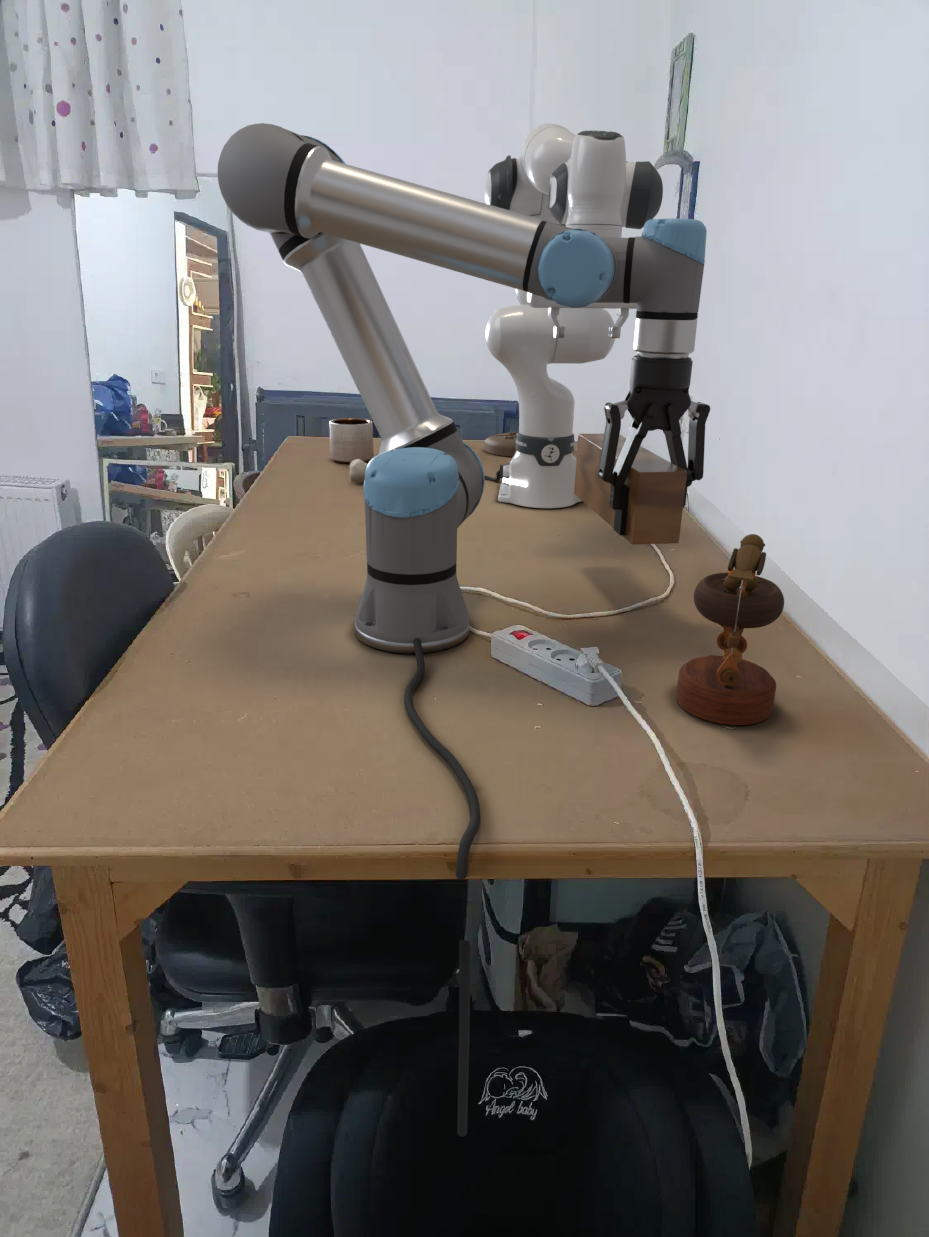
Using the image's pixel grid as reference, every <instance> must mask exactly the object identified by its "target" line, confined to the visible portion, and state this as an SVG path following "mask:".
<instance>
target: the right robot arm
mask: <svg viewBox="0 0 929 1237" xmlns="http://www.w3.org/2000/svg"><path fill="white" fill-rule="evenodd" d="M626 150H627V149H626V141H625V137H624V136H623V135H622V134H621V133H619V132H616V131H612V130H610V131H608V130H607V131H606V130H582V131H580V132H577V134H575V133H573V132H572V131H571V130H570V129H568V128H567V127H564V126H563V125H560V124H556V123H543V124H539V125H537V126H535V127H534V128H532V129H531V130H530V131H529V132H528V133H527V135H526V136H525V139H524V140H523V143H522V147H521V155H520V157H518V158H516V157H513V158H512V156H511V155H510V154H509V155H507V156H506V157H505V159H504V160H502V161H499V162H497V163H495V164H493V166H492V167H491V168H490V169H489V170H488V172H487V176H486V178H485V181H484V186H483V199H484V203H485V204H489V205H492V206H496V207H499V208H503V209H506V210H510V211H513V212H517V213H520V214H524V215H527V216H531V217H534V218H538V219H541V220H543V221H547V222H551V223H555V224H559V225H563V226H566V227H570V228H573V229H582V230H586V231H589V232H592V233H595V234H597V235H598V236H599V237H618V238H623V236H622V235H623V228H625V229H631V230H643V229H644V225H645V223H646V222H647V221H648V220H651V219H655V218H656V217H657V215H658V213H659V212H660V209H661V206H662V203H663V197H664V185H663V179H662V176H661V175H660V172H659V171H658V169H657V168H656V167H655V166H654V164H652V163H651V162H650V161H649V160H647V161H635V162H633V161H632V162H631V161H627V153H626V152H627V151H626ZM514 290H515V296H516V299H517V301H518V303H519V304H514V305H509V306H504V307H500V308H497V309H495V310H494V311H493V312H492V314H491V315H490V317H489V319H487V320H488V321H487V322H486V327H485V333H484V334H485V335H484V336H485V337H484V338H485V342H486V347H487V349H488V351H489V352H490V354H491V355H492V356H493V358H494V359H496V360H497V361H498V362H499V363H500V364H501V365H502V366H503V367H504V368H505V369H506V371H508V373H509V375H510V376H511V378H512V380H513V382H514V384H515V387H516V392H517V397H518V431H517V432H516V433H517V437H516V447H515V448H516V453H515V455H514V456H512V458H511V461H509V462H507V463H502V464H500V465H499V469H498V470H497V471H496V473H495V476H496V477H493V476H492V477H491V476H488V475H485V481H490V482H495V483H496V482H499V481H500V480H501V479H502V481H501V482H500V485H499V486H500V487H499V491H498V496H497V502H500V503H506V504H513V505H516V506H521V507H525V508H535V509H560V508H566V507H571V506H573V505H575V504H577V503H581V502H583V501H582V500H581V499H579V498H578V497H577V496H576V495H575V494H574V488H575V474H576V459H577V457H576V456H574V454H573V453H574V451H575V443H576V440H575V434H574V432H573V431H574V416H575V397H574V394H573V392H572V391H571V390H570V389H569V387H567V386H566V385H564V384H562V383H561V382H559V381H557V380H555V379H553V378H551V377H550V376H549V373H548V365H550V364H570V365H571V364H573V365H574V364H581V365H582V364H586V363H591V362H597V361H601V360H604V359H605V358H606V357H607V356H608V355H609V354H610V352H611V351H612V349H613V348H614V344H615V342H616V339H620V338H621V331H622V327H623V326H624V324H625V322H627V320H628V318H629V316H630V310H637V304H636V303H592V304H589V305H588V306H585V307H580V308H572V307H567V306H563V305H560V304H558V303H556V302H555V301H548V300H546V299H545V298H544V297H541V296H538V295H534V294H531V293H529V292H526V291H522V290H519V289H515V288H514ZM608 309H615V310H616V316H617V317H618V318H617V319H616V321H615V320H614V318H613V317H612V315H611V314H610V312H609V311H608Z"/></svg>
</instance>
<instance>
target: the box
mask: <svg viewBox="0 0 929 1237" xmlns="http://www.w3.org/2000/svg"><path fill="white" fill-rule="evenodd" d="M603 438H604V433H578V434H577V447H576V474H575V488H574V494H575V495H576V496H577V497H578V498H579V499H581V500H582V501H581V502H583V503H584V504H585V505H586V506H587V507H588V508H589V509H590V510H592V511H593V512H594V513H595V514H596V515H597V516H599V517H600V518H601V519H602V520H603V521H604V522H606V523H607V524H608V525H609V526H610V527H611V528H612V529H614V517H615V510H613V509H612V508H611V507H610V504H609V500H610V488H611V485H610V483H608V482H605V481H603V480H602V479H601V478H599V477H598V468H599V462H600V456H601V450H602V444H603ZM626 438H627V437H626V436H623V435H621V434H619V440H618V446H617V452H616V458H615V463H614V467H615V465H616V462H617V460H618V457H619V455H620V453H621V450H622V448H623V445H624V443H625V441H626ZM613 470H614V469H613ZM686 478H687V471H685V470H683V469H682V468H680V467H678V466H676V465H674V464H672V463H671V461H669V460H668V459H666V458H664V457H662V456H660V455H658V454H656V453H654V452H652V451H651V450H648V449H647V448H645V447H643V446H642V445H640V448H639V450H638V453H637V455H636V457H635V460H634V462H633V464H632V467H631V469H630V472H629V474H628V476H627V479H626V481H625V483H624V484H625V485H627V486H628V487H630V489H629V500H628V510H627V521H626V532H625V535H621V537H622V538H624V539H625V540H626V541H627V542H629V543H630V544H631V545H632V546H636V545H637V546H638V545H667V544H669V545H672V544H679V543H680V535H681V527H682V520H683V519H682V518H683V511H684V510H683V509H684V508H683V503H684V495H685V486H686Z"/></svg>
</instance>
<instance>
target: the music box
mask: <svg viewBox="0 0 929 1237" xmlns="http://www.w3.org/2000/svg"><path fill="white" fill-rule="evenodd" d="M741 539H742V540H740V541H739V543H740V544H739V545H740V547H739V548H737V547H735V548H733V550H732V552H731V556H730V559H729V562H728V565H727V571H728V572H717V573H716V572H715V573H712V574H708V575H707V576H705V577H703V578H702V579H701V580H700V581H699V582H698V583H697V584H696V586H695V588H694V592H693V603H694V606H695V608H696V610H697V611H698V613H699V614H700V615H701V616H702V617H703V618H705V619H706V620H708V621H710V622H712V623H715V624H717V625H719V626H720V627H722V628H723V630H722V631H721V632H719V633H718V635H717V637H716V645H717V647H718V649H720V650H722V651H723V653H722V655H702V656H698V657H694V658H693V659H690V660H689V661H687V662H685V663H684V664H682V666H680V668H679V670H678V678H677V685H676V694H675V699H676V702H677V703H678V705H679V706H680V707H681V708H682V709H683V710H684V711H686V712H687V713H689V714H691V715H692V716H694V717H696V718H699V719H701V720H705V721H707V722H712V723H716V724H721V725H729V726H746V725H748V726H749V725H753V724H758V723H760V722H763V721H765V720H767V719H769V717H770V716H771V715H772V713H773V708H774V702H775V697H776V692H777V681H776V680H775V678H774V677H773V676H772V674H770V672H768V670H766V668H764V667H763V666H760V665H759V664H757V663H755V662H752V661H750V660H746V659H743V653H745V652H746V651H747V648H748V641H747V639H746V638H745V637H744V636H743V633H744V630H745V629H758V628H759V629H760V628H763V627H766V626H769V625H771V624H772V623H775V621H777V620H778V618H779V617H780V616H781V615H782V613H783V610H784V608H785V607H784V606H785V597H784V594H783V591H782V590H781V588H780V587H779V586H778V585H777V584H776V583H775V582H773V581H771V580H770V579H767V578H764V577H761V575H762V573H763V571H764V568H765V564H766V560H767V552H766V551H764V549H765V547H766V543H765V542H764V539H763V538H762V537H761V536H760V535H758V534H755V533H750V534H747V535H745V536H744V537H742V538H741Z"/></svg>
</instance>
